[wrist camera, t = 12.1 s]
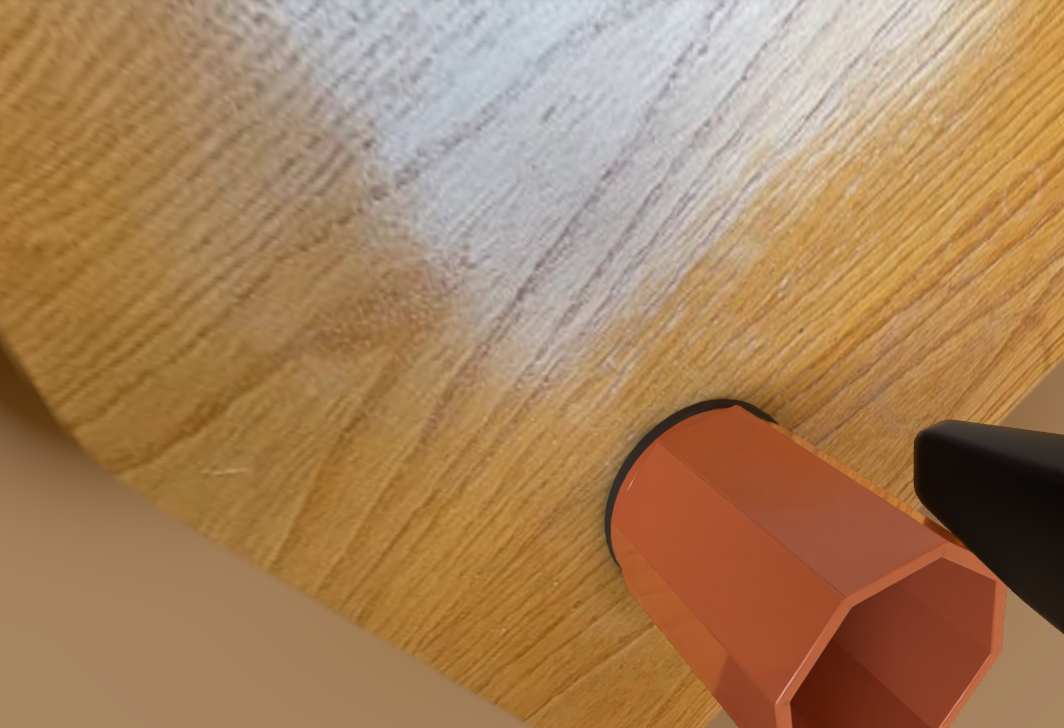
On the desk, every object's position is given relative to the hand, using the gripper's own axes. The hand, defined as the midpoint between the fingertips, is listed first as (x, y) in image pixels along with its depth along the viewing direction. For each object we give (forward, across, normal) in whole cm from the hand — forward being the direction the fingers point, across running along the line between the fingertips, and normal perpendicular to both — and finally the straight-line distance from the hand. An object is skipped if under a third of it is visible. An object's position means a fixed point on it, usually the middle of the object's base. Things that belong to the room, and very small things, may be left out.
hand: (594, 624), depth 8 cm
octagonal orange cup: (+12, -8, +10) cm, 17 cm away
